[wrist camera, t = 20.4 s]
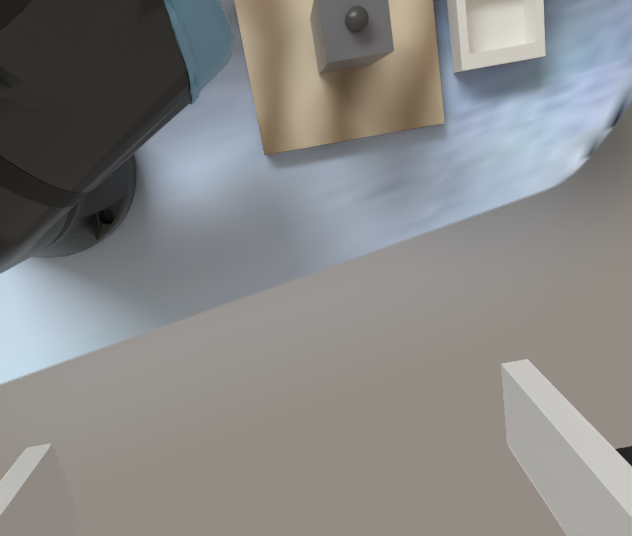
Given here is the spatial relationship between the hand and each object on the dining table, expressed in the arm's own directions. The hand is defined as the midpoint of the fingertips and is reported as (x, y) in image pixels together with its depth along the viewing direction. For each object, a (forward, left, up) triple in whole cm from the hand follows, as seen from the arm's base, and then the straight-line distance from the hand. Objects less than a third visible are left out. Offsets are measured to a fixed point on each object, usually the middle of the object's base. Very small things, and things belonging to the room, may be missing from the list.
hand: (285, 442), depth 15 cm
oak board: (+7, +14, -35) cm, 38 cm away
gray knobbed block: (+7, +14, -34) cm, 37 cm away
